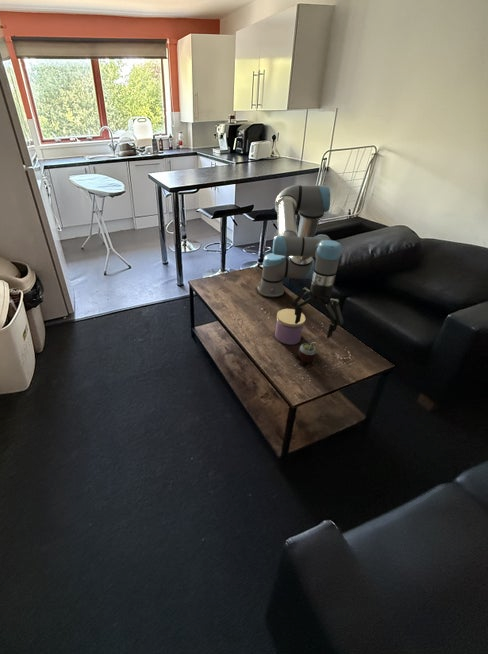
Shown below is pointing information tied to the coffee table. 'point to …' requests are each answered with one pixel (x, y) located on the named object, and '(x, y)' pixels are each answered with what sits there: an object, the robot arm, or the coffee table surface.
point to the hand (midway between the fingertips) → (312, 329)
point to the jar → (289, 327)
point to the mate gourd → (307, 353)
